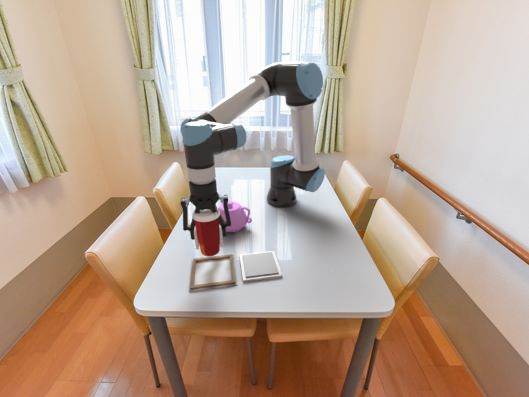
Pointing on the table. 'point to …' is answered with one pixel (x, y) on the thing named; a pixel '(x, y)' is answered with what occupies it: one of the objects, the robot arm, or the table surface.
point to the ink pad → (259, 266)
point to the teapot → (235, 216)
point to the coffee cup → (208, 231)
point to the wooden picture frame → (212, 272)
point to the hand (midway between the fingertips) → (209, 245)
